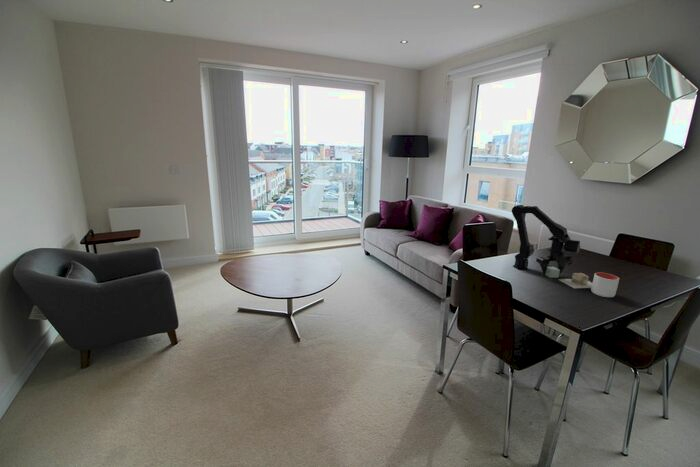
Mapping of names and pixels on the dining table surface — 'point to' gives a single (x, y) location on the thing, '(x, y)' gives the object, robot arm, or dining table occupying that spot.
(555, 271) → the sage block
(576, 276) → the maple block
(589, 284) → the white flat rectangular panel
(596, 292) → the cup
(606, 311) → the dining table surface
